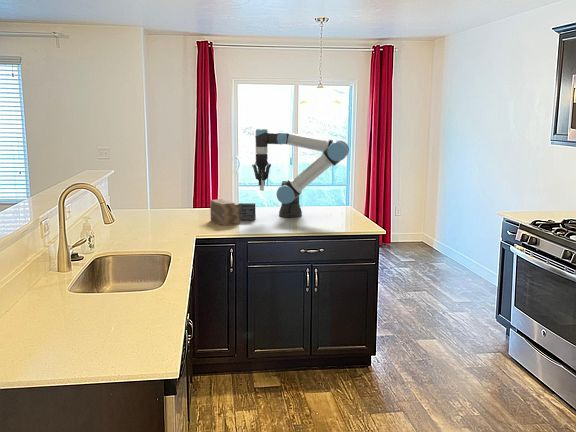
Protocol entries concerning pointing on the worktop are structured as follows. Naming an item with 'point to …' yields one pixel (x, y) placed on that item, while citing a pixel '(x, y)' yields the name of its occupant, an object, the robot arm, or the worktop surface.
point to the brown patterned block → (224, 212)
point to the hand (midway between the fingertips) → (261, 190)
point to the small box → (247, 212)
